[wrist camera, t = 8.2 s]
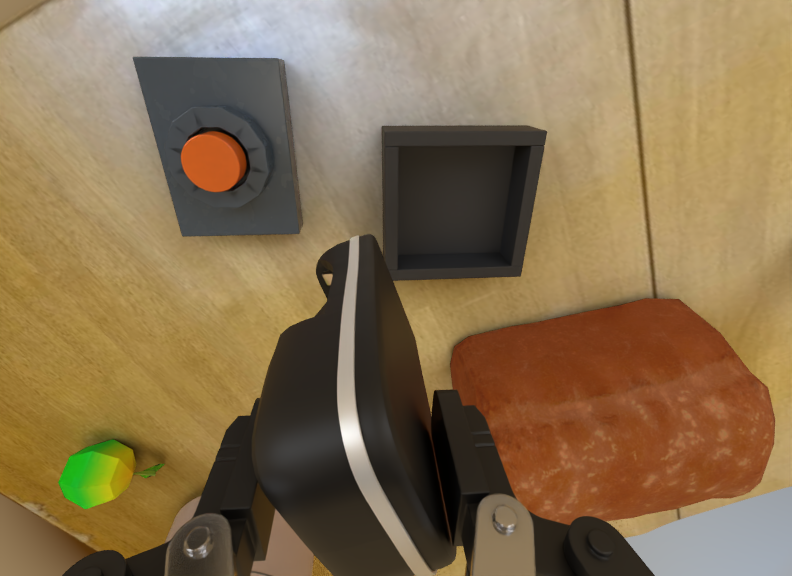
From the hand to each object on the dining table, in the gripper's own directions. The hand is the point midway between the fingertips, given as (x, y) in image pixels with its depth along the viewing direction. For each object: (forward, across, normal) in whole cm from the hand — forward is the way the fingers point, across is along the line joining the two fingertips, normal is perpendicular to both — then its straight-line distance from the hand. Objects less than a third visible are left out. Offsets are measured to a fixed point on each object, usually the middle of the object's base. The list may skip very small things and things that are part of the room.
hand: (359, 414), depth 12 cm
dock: (+22, -8, -1) cm, 24 cm away
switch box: (+22, +9, -5) cm, 25 cm away
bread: (+23, -22, +19) cm, 37 cm away
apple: (+23, +27, +28) cm, 45 cm away
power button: (+19, +9, -5) cm, 22 cm away
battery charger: (+8, 0, 0) cm, 8 cm away
